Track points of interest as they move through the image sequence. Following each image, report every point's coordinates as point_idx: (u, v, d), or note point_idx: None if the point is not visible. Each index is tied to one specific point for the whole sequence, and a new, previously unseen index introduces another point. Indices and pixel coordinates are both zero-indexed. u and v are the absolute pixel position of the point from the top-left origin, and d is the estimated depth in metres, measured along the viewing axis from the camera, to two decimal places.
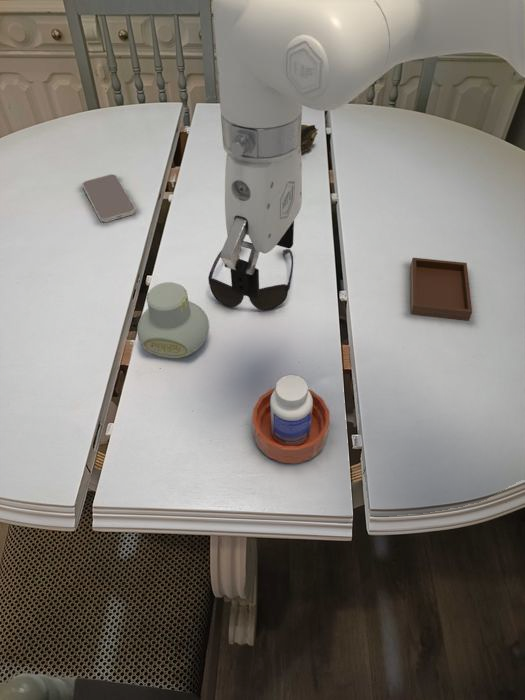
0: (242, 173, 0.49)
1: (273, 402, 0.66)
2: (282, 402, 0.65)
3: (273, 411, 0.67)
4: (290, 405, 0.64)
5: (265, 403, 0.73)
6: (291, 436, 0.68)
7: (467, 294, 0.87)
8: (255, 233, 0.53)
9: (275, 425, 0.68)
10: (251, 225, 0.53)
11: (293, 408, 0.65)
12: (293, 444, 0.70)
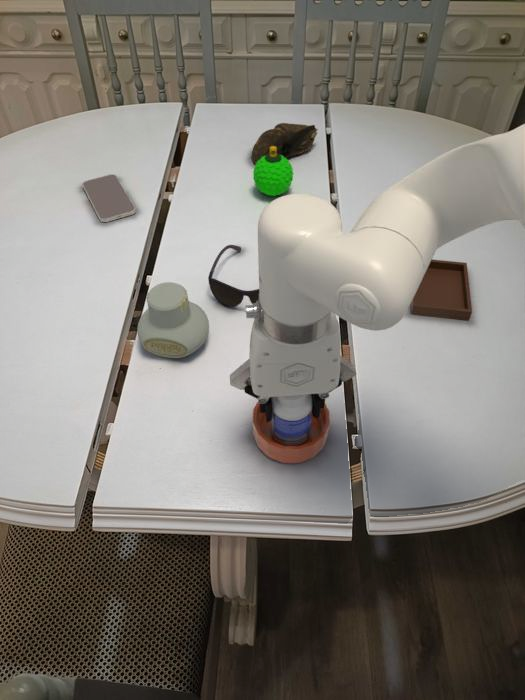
0: (252, 329, 0.56)
1: (273, 402, 0.66)
2: (282, 402, 0.65)
3: (273, 411, 0.67)
4: (290, 405, 0.64)
5: None
6: (291, 436, 0.68)
7: (467, 294, 0.87)
8: (250, 375, 0.60)
9: (276, 425, 0.68)
10: (250, 368, 0.60)
11: (293, 408, 0.65)
12: (293, 444, 0.70)
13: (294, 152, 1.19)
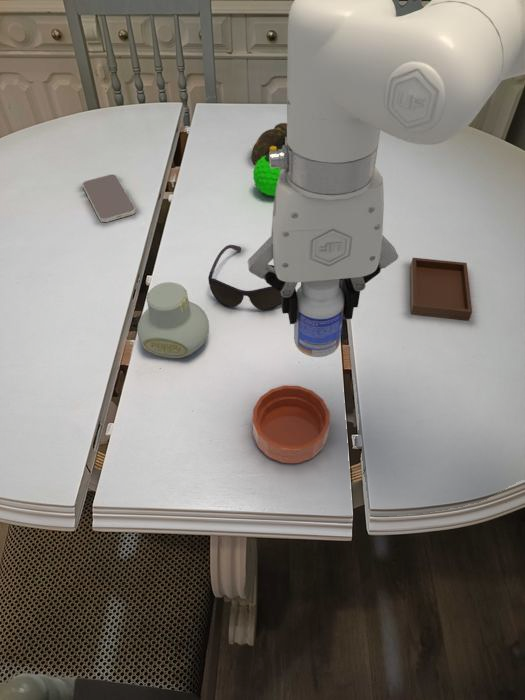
0: (277, 188, 0.46)
1: (298, 299, 0.56)
2: (310, 295, 0.55)
3: (298, 309, 0.56)
4: (319, 298, 0.54)
5: (265, 403, 0.73)
6: (319, 342, 0.58)
7: (467, 294, 0.87)
8: (274, 253, 0.50)
9: (301, 328, 0.58)
10: (273, 243, 0.50)
11: (322, 303, 0.55)
12: (321, 354, 0.60)
13: None
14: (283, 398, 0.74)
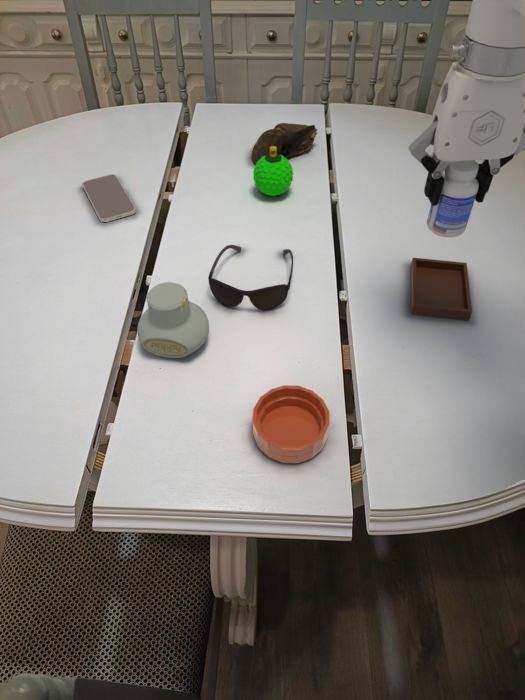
0: (450, 77, 0.59)
1: None
2: (455, 177, 0.68)
3: (441, 192, 0.69)
4: (463, 179, 0.67)
5: (265, 403, 0.73)
6: (454, 221, 0.71)
7: (467, 294, 0.87)
8: (437, 135, 0.63)
9: (440, 210, 0.71)
10: (438, 126, 0.63)
11: (464, 185, 0.68)
12: (453, 234, 0.73)
13: (294, 152, 1.19)
14: (283, 398, 0.74)
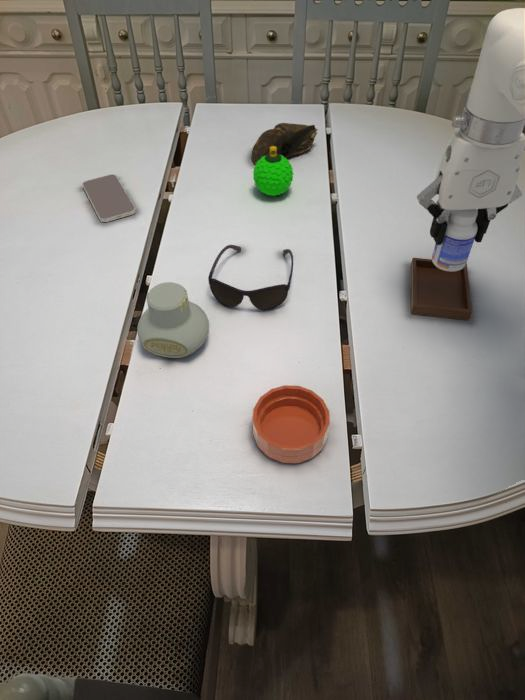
0: (453, 141, 0.69)
1: None
2: (457, 221, 0.78)
3: (445, 233, 0.80)
4: (464, 224, 0.77)
5: (265, 403, 0.73)
6: (456, 259, 0.81)
7: (467, 294, 0.87)
8: (442, 188, 0.73)
9: (444, 248, 0.81)
10: (442, 181, 0.73)
11: (464, 228, 0.78)
12: (455, 268, 0.83)
13: (294, 152, 1.19)
14: (283, 398, 0.74)
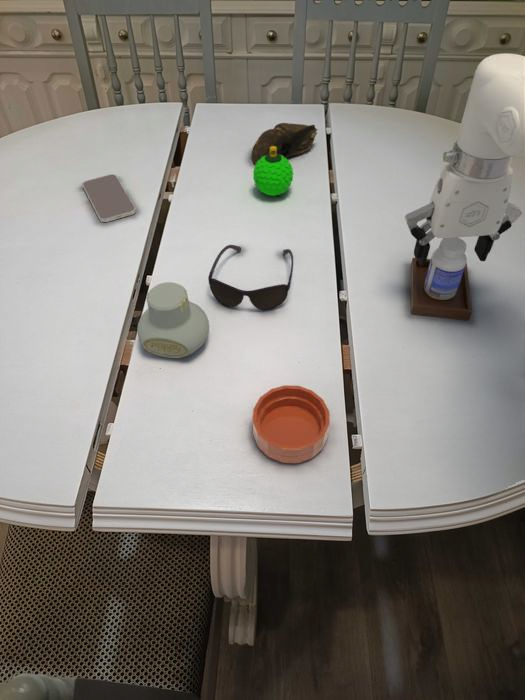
0: (444, 175, 0.73)
1: (436, 258, 0.84)
2: (447, 255, 0.82)
3: (436, 265, 0.84)
4: (453, 257, 0.82)
5: (265, 403, 0.73)
6: (446, 288, 0.86)
7: (467, 294, 0.87)
8: (434, 218, 0.77)
9: (435, 279, 0.86)
10: (434, 211, 0.76)
11: (454, 261, 0.83)
12: (445, 297, 0.88)
13: (294, 152, 1.19)
14: (283, 398, 0.74)
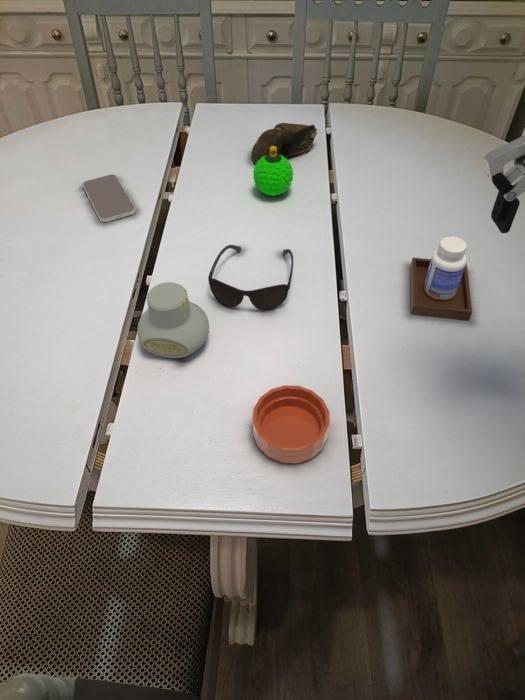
0: None
1: (436, 258, 0.84)
2: (447, 255, 0.82)
3: (436, 265, 0.84)
4: (453, 257, 0.82)
5: (265, 403, 0.73)
6: (446, 288, 0.86)
7: (467, 294, 0.87)
8: None
9: (435, 279, 0.86)
10: None
11: (454, 261, 0.83)
12: (445, 297, 0.88)
13: (294, 152, 1.19)
14: (283, 398, 0.74)
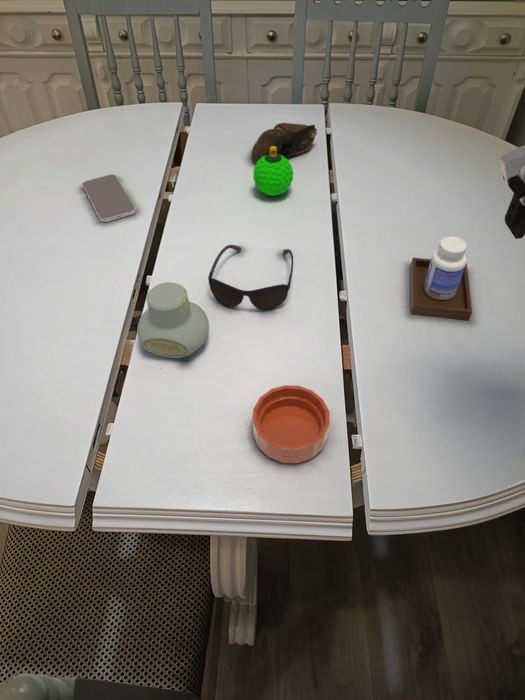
0: None
1: (436, 258, 0.84)
2: (447, 255, 0.82)
3: (436, 265, 0.84)
4: (453, 257, 0.82)
5: (265, 403, 0.73)
6: (446, 288, 0.86)
7: (467, 294, 0.87)
8: None
9: (435, 279, 0.86)
10: None
11: (454, 261, 0.83)
12: (445, 297, 0.88)
13: (294, 152, 1.19)
14: (283, 398, 0.74)
